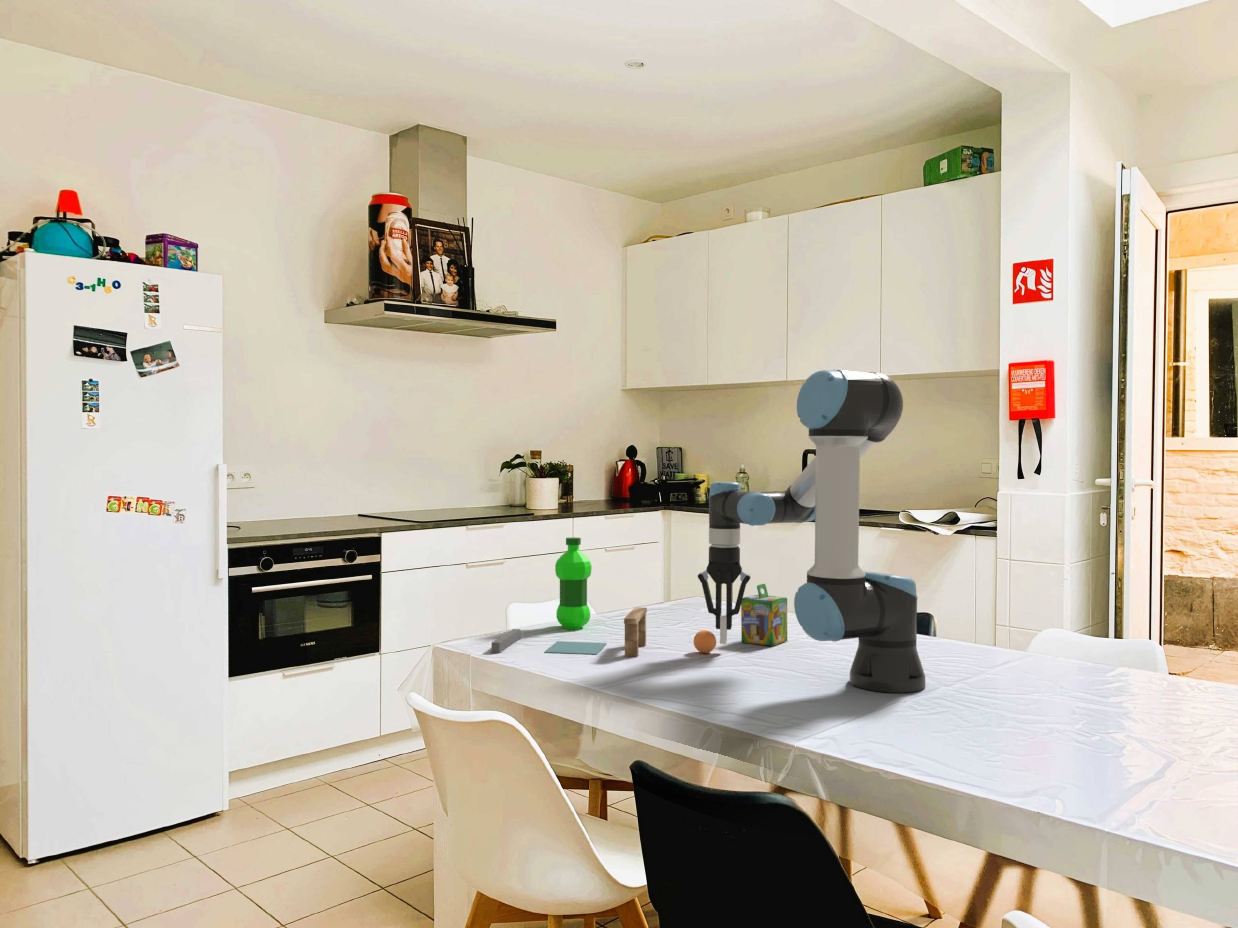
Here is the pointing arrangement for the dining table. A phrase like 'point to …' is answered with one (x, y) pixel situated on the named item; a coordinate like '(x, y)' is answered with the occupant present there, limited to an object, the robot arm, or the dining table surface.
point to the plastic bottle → (573, 586)
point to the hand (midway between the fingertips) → (723, 642)
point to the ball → (704, 641)
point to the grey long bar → (506, 640)
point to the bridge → (635, 631)
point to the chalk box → (764, 619)
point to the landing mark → (575, 647)
